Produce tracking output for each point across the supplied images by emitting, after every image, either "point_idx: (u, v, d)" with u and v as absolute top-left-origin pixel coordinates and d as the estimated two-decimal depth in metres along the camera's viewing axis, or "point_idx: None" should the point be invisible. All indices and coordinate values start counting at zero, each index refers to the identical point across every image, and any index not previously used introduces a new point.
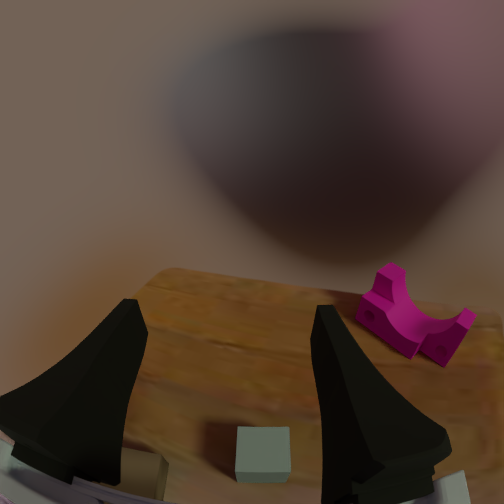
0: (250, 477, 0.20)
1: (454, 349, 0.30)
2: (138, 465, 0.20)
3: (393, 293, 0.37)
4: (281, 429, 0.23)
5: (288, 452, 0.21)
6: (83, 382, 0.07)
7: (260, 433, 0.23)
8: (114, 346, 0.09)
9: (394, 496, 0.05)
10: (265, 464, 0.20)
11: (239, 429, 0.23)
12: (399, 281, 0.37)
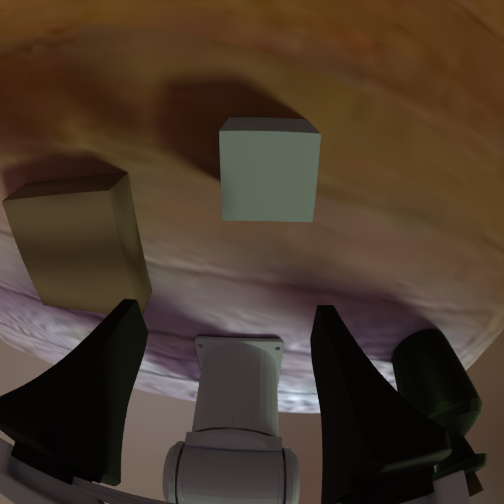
0: None
1: None
2: (87, 215, 0.17)
3: None
4: (306, 138, 0.13)
5: (313, 187, 0.14)
6: (83, 382, 0.07)
7: (264, 145, 0.13)
8: (114, 346, 0.09)
9: (394, 496, 0.05)
10: (272, 207, 0.15)
11: (222, 138, 0.13)
12: None
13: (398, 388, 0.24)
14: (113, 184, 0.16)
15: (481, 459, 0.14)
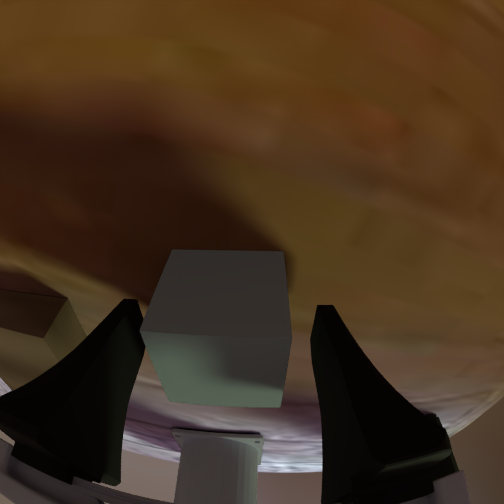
0: None
1: None
2: (32, 352, 0.12)
3: None
4: (269, 343, 0.08)
5: (280, 384, 0.10)
6: (83, 382, 0.07)
7: (206, 349, 0.09)
8: (114, 346, 0.09)
9: (394, 496, 0.05)
10: (227, 398, 0.10)
11: (146, 338, 0.09)
12: None
13: None
14: (49, 324, 0.12)
15: None
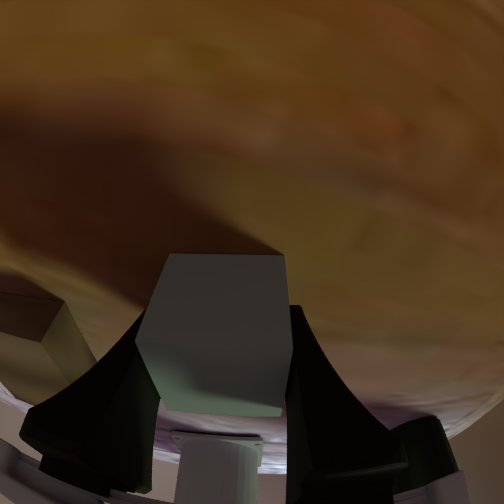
0: None
1: None
2: (29, 355, 0.12)
3: None
4: (269, 354, 0.08)
5: (280, 394, 0.09)
6: (120, 390, 0.07)
7: (204, 360, 0.08)
8: None
9: None
10: (226, 407, 0.10)
11: (142, 349, 0.08)
12: None
13: None
14: (46, 328, 0.12)
15: None
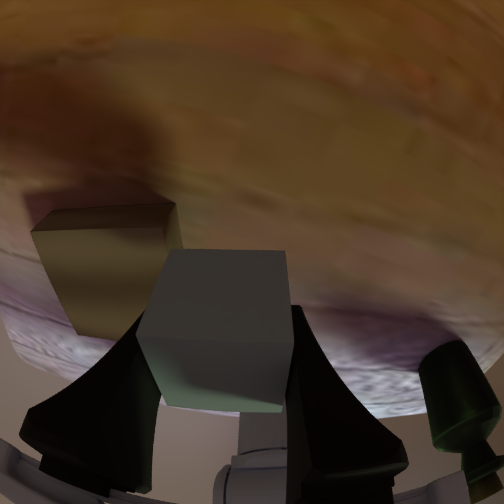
0: None
1: None
2: (136, 252, 0.17)
3: None
4: (270, 348, 0.08)
5: (281, 389, 0.09)
6: (120, 390, 0.07)
7: (205, 354, 0.08)
8: None
9: None
10: (227, 403, 0.10)
11: (143, 343, 0.08)
12: None
13: (426, 397, 0.24)
14: (164, 218, 0.16)
15: (502, 461, 0.13)
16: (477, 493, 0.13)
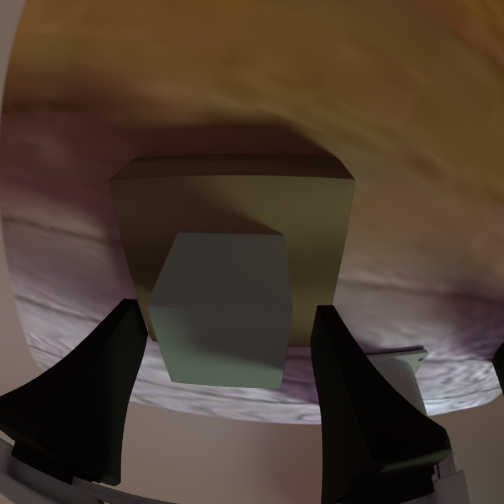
0: None
1: None
2: (303, 213, 0.12)
3: None
4: (270, 318, 0.09)
5: (281, 362, 0.10)
6: (83, 382, 0.07)
7: (210, 325, 0.09)
8: (114, 346, 0.09)
9: (394, 496, 0.05)
10: (229, 377, 0.11)
11: (153, 314, 0.09)
12: None
13: None
14: (345, 171, 0.12)
15: None
16: None
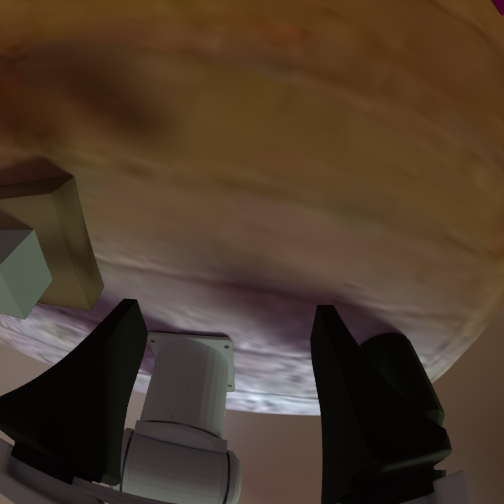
0: None
1: None
2: (37, 216, 0.16)
3: None
4: None
5: (12, 299, 0.15)
6: (83, 382, 0.07)
7: None
8: (114, 346, 0.09)
9: (394, 496, 0.05)
10: (3, 307, 0.15)
11: None
12: None
13: None
14: (57, 187, 0.16)
15: (437, 477, 0.14)
16: None
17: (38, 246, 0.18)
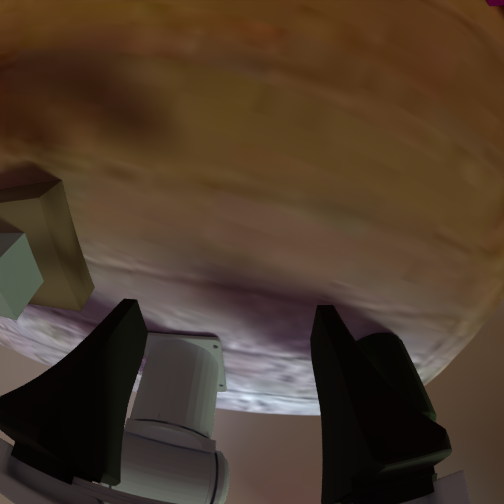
0: None
1: None
2: (27, 220, 0.17)
3: None
4: None
5: (4, 300, 0.15)
6: (83, 382, 0.07)
7: None
8: (114, 346, 0.09)
9: (394, 496, 0.05)
10: None
11: None
12: None
13: None
14: (45, 192, 0.16)
15: None
16: None
17: (29, 249, 0.18)
